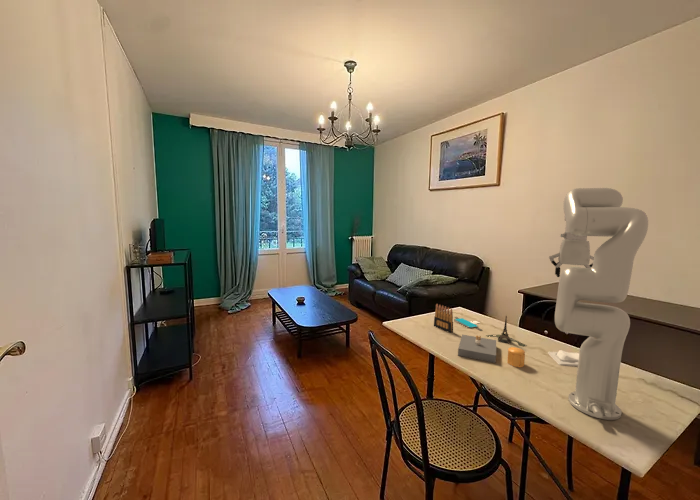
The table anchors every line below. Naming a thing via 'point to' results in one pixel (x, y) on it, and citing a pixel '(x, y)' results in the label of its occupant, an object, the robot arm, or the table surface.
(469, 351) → the box
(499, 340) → the eiffel tower figurine
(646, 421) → the table surface
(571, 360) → the light switch
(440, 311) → the ammunition clip
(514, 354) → the orange wooden cylinder
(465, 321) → the cyan flat board
